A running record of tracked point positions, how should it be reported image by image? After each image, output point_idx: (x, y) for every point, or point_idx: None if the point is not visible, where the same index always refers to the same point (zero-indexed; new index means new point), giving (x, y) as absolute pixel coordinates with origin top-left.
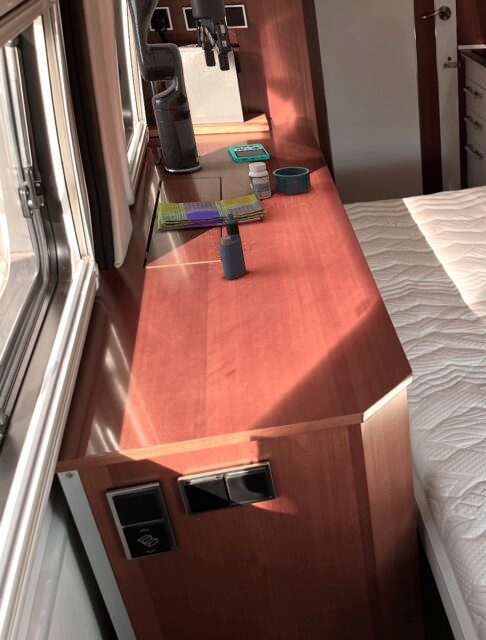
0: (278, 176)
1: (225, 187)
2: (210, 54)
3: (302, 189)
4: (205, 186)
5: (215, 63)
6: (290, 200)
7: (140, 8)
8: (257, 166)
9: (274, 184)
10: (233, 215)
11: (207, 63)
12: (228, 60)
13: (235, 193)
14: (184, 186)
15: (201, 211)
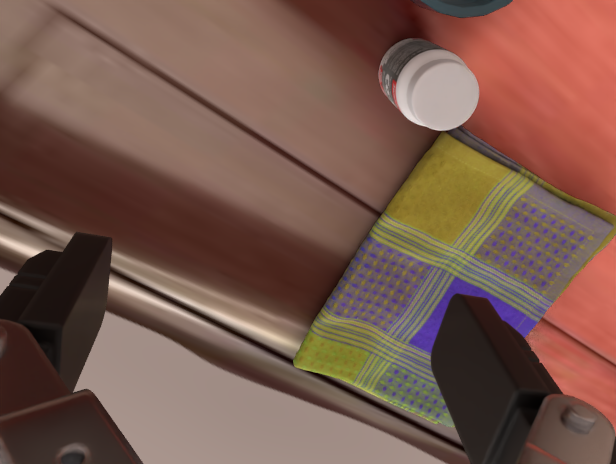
0: (475, 16)
1: (205, 85)
2: (74, 344)
3: None
4: (138, 126)
5: (105, 245)
6: (529, 32)
7: None
8: (470, 115)
9: (416, 2)
10: (559, 294)
11: (95, 330)
12: (519, 347)
13: (301, 107)
14: (84, 174)
15: (434, 315)
